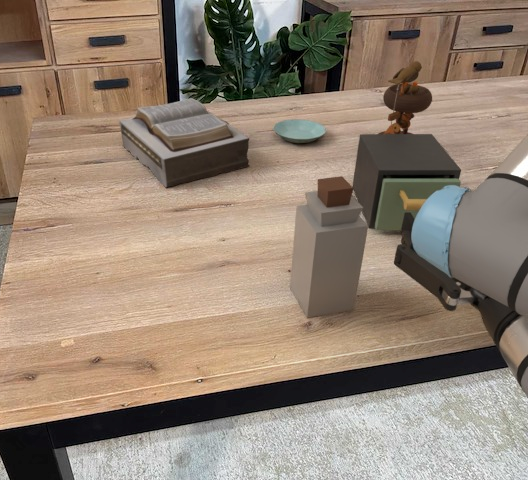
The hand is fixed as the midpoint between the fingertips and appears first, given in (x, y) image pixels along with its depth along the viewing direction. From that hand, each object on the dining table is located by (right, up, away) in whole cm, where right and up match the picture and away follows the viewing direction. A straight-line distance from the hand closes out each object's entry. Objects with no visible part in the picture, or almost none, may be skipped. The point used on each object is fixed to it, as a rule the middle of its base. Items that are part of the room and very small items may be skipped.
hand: (458, 221), depth 69 cm
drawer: (+1, +1, +21) cm, 22 cm away
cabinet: (+1, +4, +26) cm, 27 cm away
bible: (-38, +16, +46) cm, 62 cm away
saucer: (-12, +21, +54) cm, 59 cm away
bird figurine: (+8, +16, +45) cm, 49 cm away
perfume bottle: (-17, -11, +5) cm, 21 cm away
